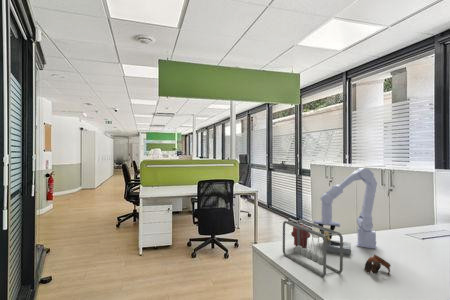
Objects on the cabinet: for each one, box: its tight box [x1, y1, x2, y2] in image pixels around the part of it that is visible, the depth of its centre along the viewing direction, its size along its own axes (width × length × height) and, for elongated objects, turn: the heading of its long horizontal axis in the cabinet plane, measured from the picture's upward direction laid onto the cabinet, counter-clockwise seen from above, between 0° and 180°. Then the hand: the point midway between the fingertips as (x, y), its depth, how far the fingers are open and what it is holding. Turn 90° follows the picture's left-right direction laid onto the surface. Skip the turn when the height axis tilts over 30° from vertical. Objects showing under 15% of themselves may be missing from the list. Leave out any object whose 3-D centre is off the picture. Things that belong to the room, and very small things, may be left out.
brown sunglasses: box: [364, 254, 391, 276], centre depth 122 cm, size 12×10×8 cm
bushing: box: [323, 227, 331, 240], centre depth 163 cm, size 4×4×7 cm
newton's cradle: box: [282, 218, 344, 278], centre depth 132 cm, size 30×10×18 cm, turn 24°
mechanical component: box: [290, 224, 311, 249], centre depth 154 cm, size 12×10×10 cm
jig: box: [326, 239, 352, 257], centre depth 150 cm, size 13×11×4 cm
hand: (326, 237), depth 163 cm, fingers closed on bushing, 4 cm apart
